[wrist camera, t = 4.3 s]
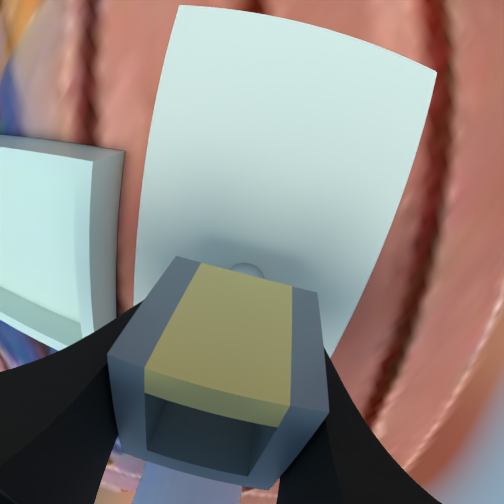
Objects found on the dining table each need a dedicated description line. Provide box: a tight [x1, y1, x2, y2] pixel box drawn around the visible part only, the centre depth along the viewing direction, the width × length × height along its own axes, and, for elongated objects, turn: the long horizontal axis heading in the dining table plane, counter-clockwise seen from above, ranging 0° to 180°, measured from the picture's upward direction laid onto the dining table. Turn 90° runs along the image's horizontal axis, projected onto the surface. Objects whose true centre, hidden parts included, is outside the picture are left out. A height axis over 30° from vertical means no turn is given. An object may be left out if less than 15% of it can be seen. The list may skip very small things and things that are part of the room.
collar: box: [107, 256, 329, 490], centre depth 8 cm, size 4×4×4 cm
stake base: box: [133, 5, 437, 358], centre depth 11 cm, size 14×10×4 cm
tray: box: [0, 135, 125, 351], centre depth 14 cm, size 11×11×3 cm
